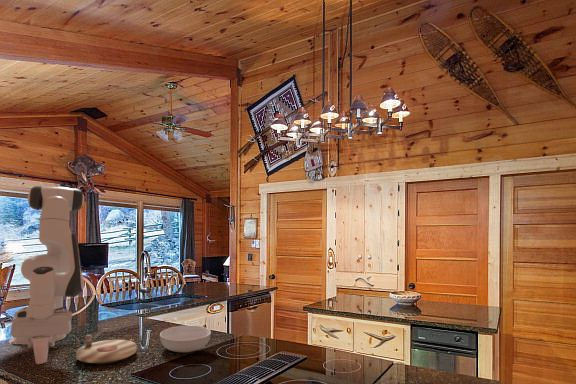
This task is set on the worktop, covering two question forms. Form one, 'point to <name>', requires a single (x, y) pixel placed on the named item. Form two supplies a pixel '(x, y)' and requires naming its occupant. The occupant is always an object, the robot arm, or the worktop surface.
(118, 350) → the round wooden board
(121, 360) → the turntable base
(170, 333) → the serving bowl
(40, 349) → the smoothie
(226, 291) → the worktop surface
